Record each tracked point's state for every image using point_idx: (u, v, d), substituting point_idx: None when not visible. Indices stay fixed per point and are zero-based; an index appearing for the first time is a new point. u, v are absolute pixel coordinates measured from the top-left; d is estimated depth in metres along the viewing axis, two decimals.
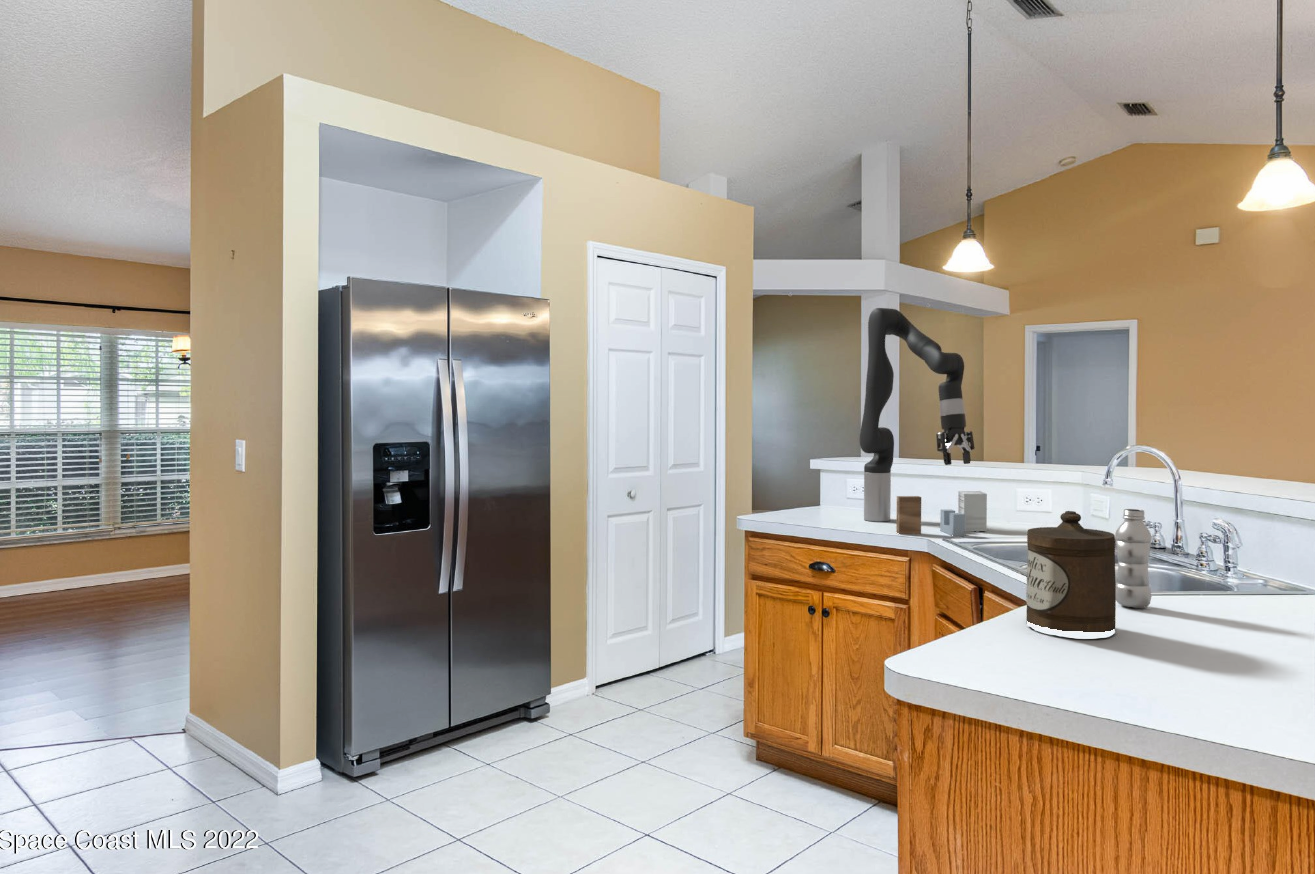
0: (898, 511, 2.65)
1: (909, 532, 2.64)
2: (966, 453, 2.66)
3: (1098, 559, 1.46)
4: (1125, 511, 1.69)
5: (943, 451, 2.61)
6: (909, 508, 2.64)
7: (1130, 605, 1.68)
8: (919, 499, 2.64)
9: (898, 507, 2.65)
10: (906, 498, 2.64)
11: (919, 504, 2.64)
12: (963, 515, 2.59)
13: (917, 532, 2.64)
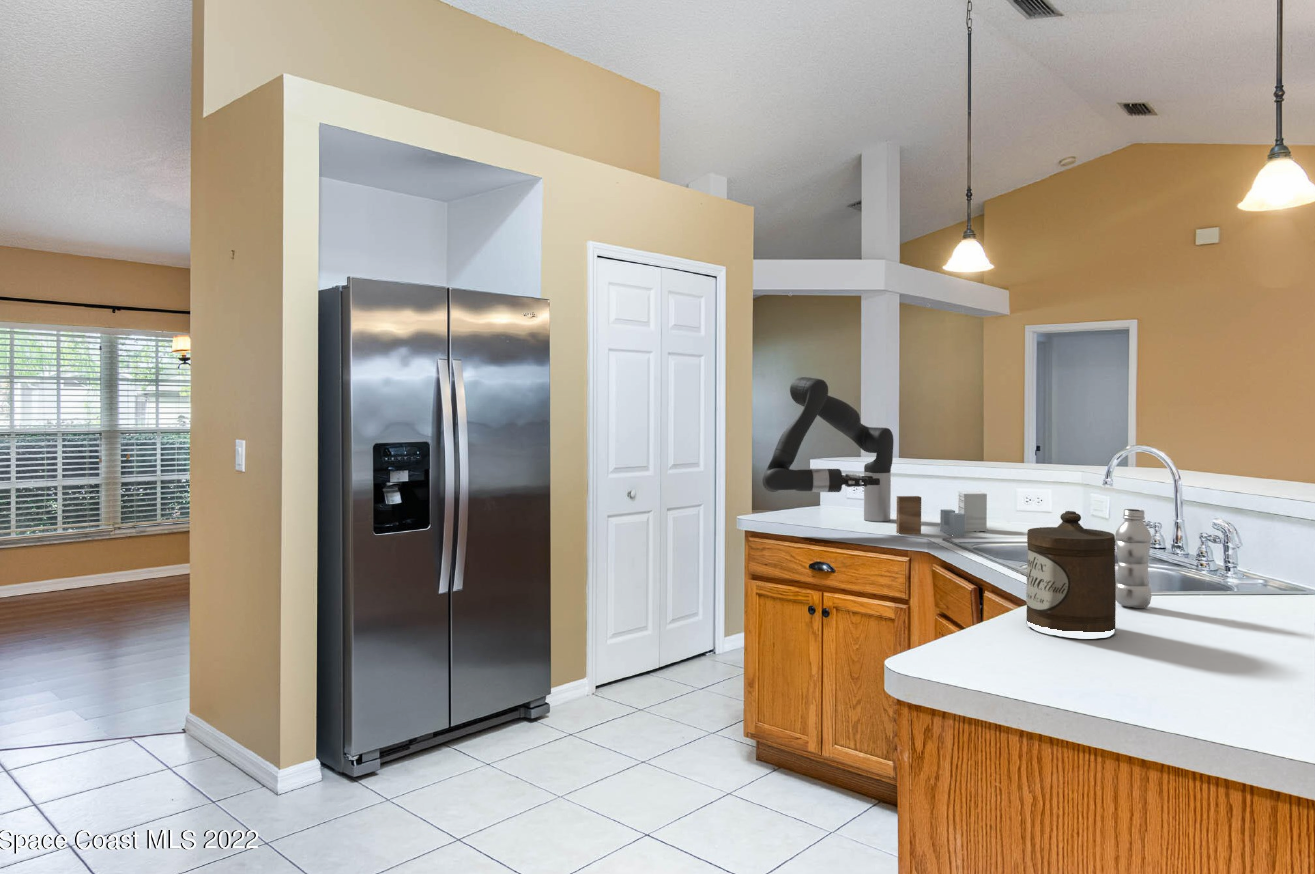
0: (898, 511, 2.65)
1: (909, 532, 2.64)
2: None
3: (1098, 559, 1.46)
4: (1125, 511, 1.69)
5: None
6: (909, 508, 2.64)
7: (1130, 605, 1.68)
8: (919, 499, 2.64)
9: (898, 507, 2.65)
10: (906, 498, 2.64)
11: (919, 504, 2.64)
12: (963, 515, 2.59)
13: (917, 532, 2.64)
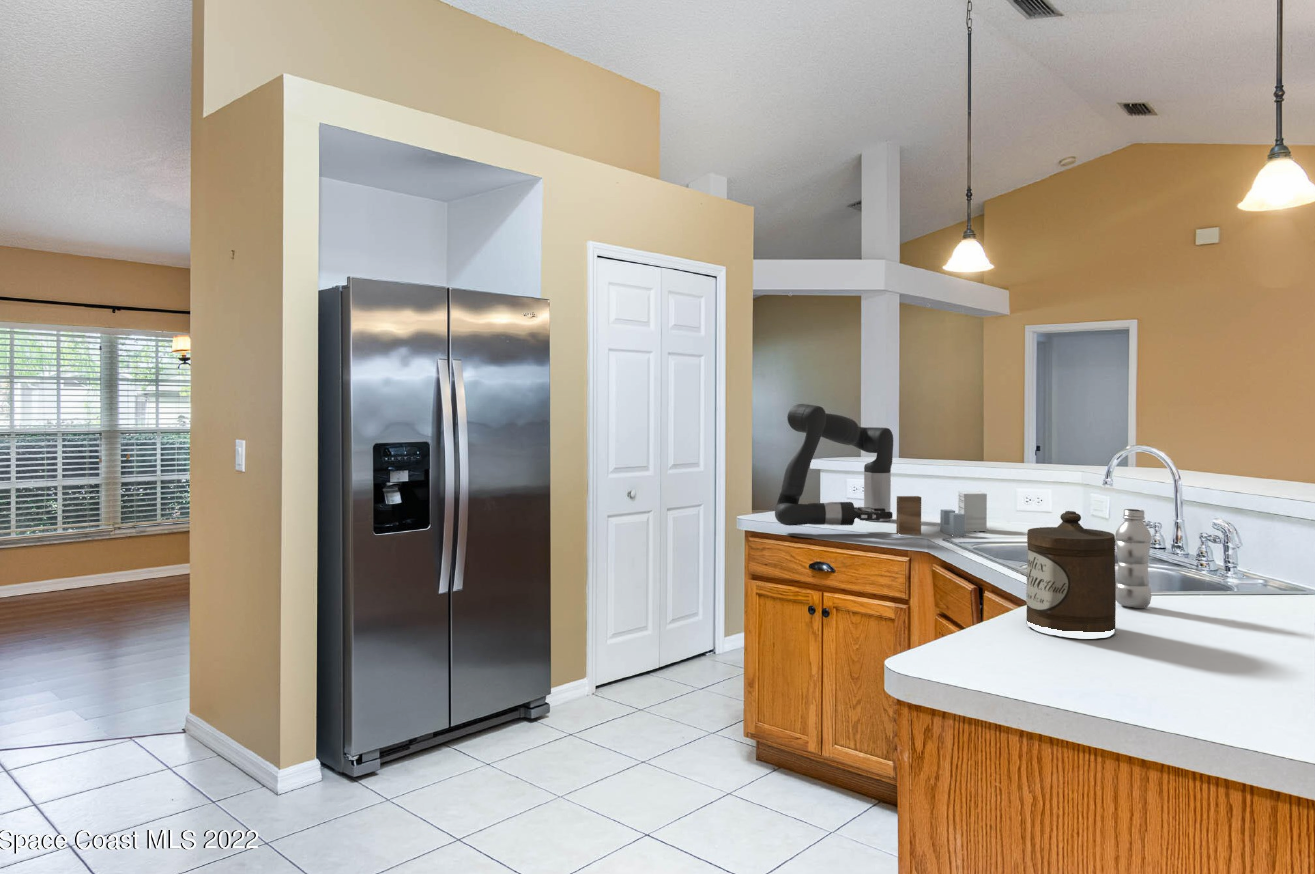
0: (898, 511, 2.65)
1: (909, 532, 2.64)
2: None
3: (1098, 559, 1.46)
4: (1125, 511, 1.69)
5: None
6: (909, 508, 2.64)
7: (1130, 605, 1.68)
8: (919, 499, 2.64)
9: (898, 507, 2.65)
10: (906, 498, 2.64)
11: (919, 504, 2.64)
12: (963, 515, 2.59)
13: (917, 532, 2.64)
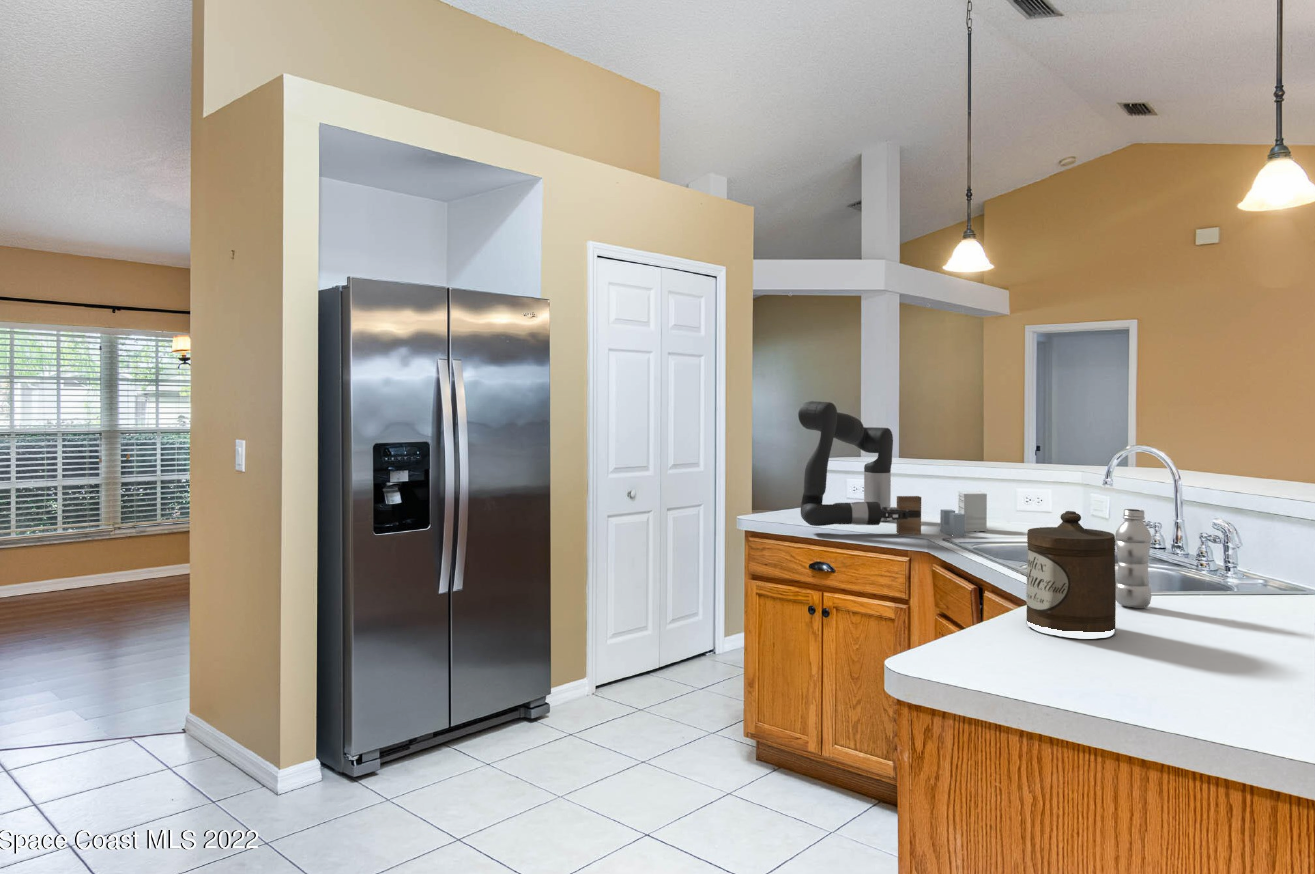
0: None
1: (909, 532, 2.64)
2: None
3: (1098, 559, 1.46)
4: (1125, 511, 1.69)
5: None
6: (909, 508, 2.64)
7: (1130, 605, 1.68)
8: (919, 499, 2.64)
9: (898, 507, 2.65)
10: (906, 498, 2.64)
11: (919, 504, 2.64)
12: (963, 515, 2.59)
13: (917, 532, 2.64)
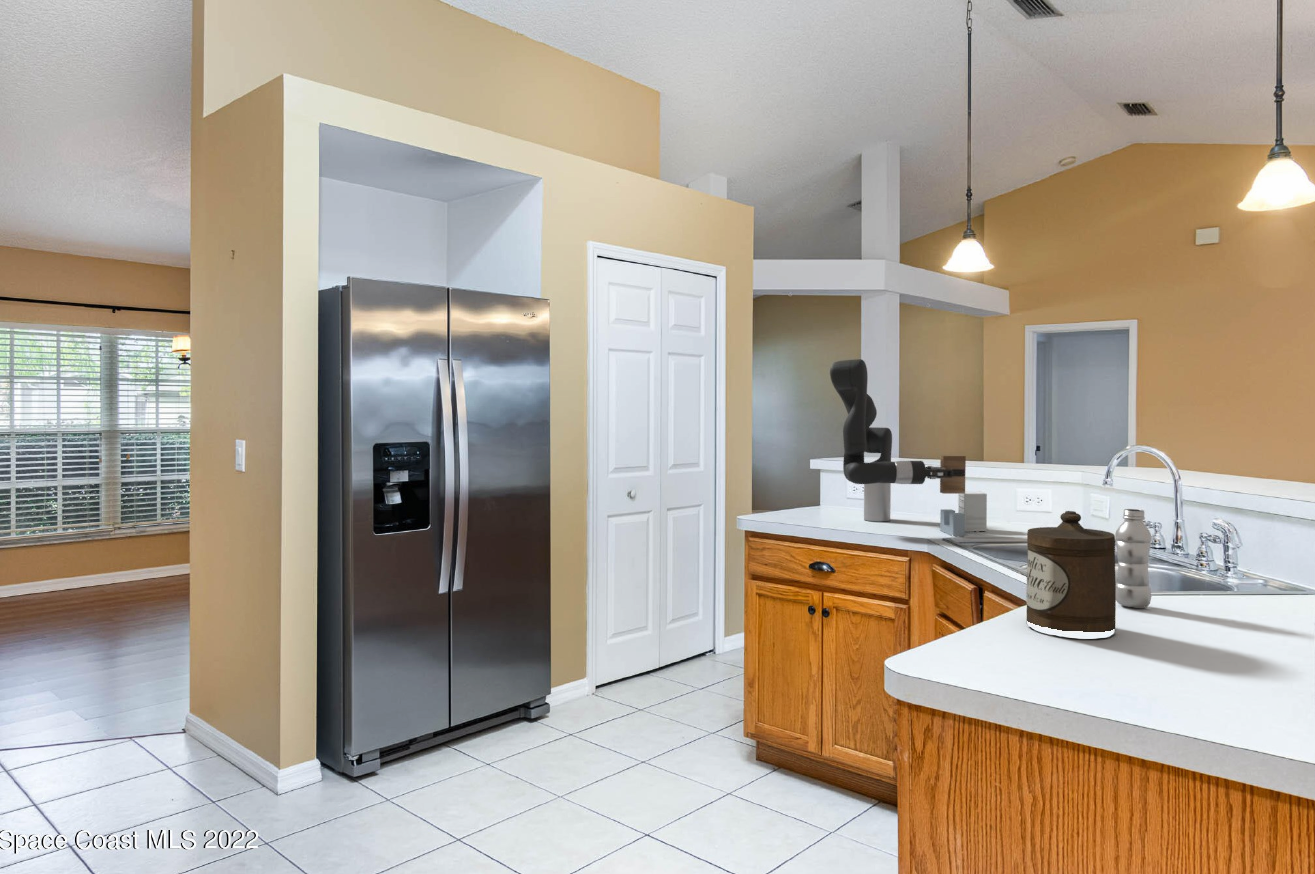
0: None
1: (953, 491, 2.64)
2: None
3: (1098, 559, 1.46)
4: (1125, 511, 1.69)
5: None
6: (953, 467, 2.63)
7: (1130, 605, 1.68)
8: (963, 458, 2.63)
9: (942, 466, 2.64)
10: (950, 457, 2.63)
11: (963, 463, 2.63)
12: (963, 515, 2.59)
13: (961, 491, 2.64)
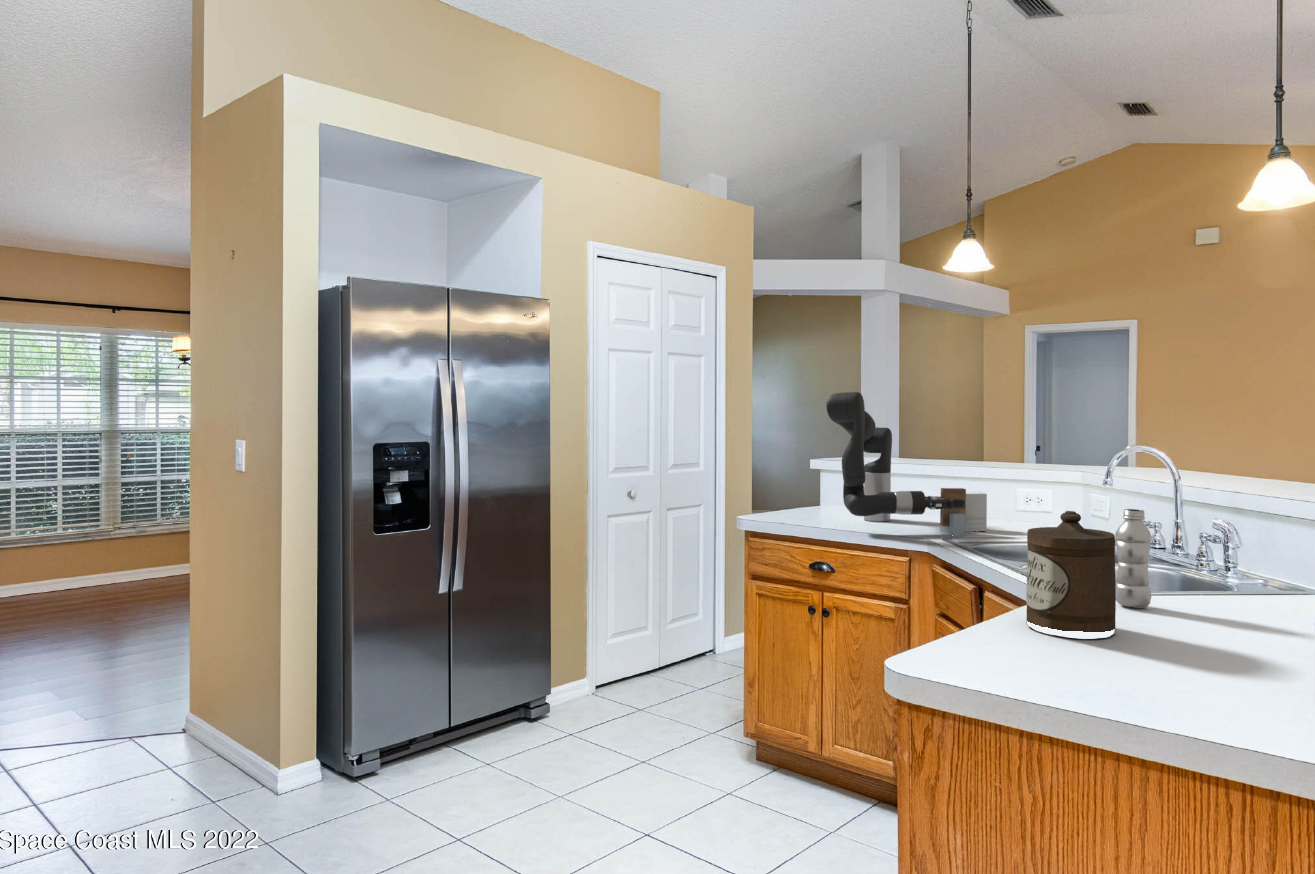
0: None
1: None
2: None
3: (1098, 559, 1.46)
4: (1125, 511, 1.69)
5: None
6: None
7: (1130, 605, 1.68)
8: (964, 491, 2.64)
9: None
10: (950, 490, 2.64)
11: (963, 496, 2.64)
12: (963, 515, 2.59)
13: None
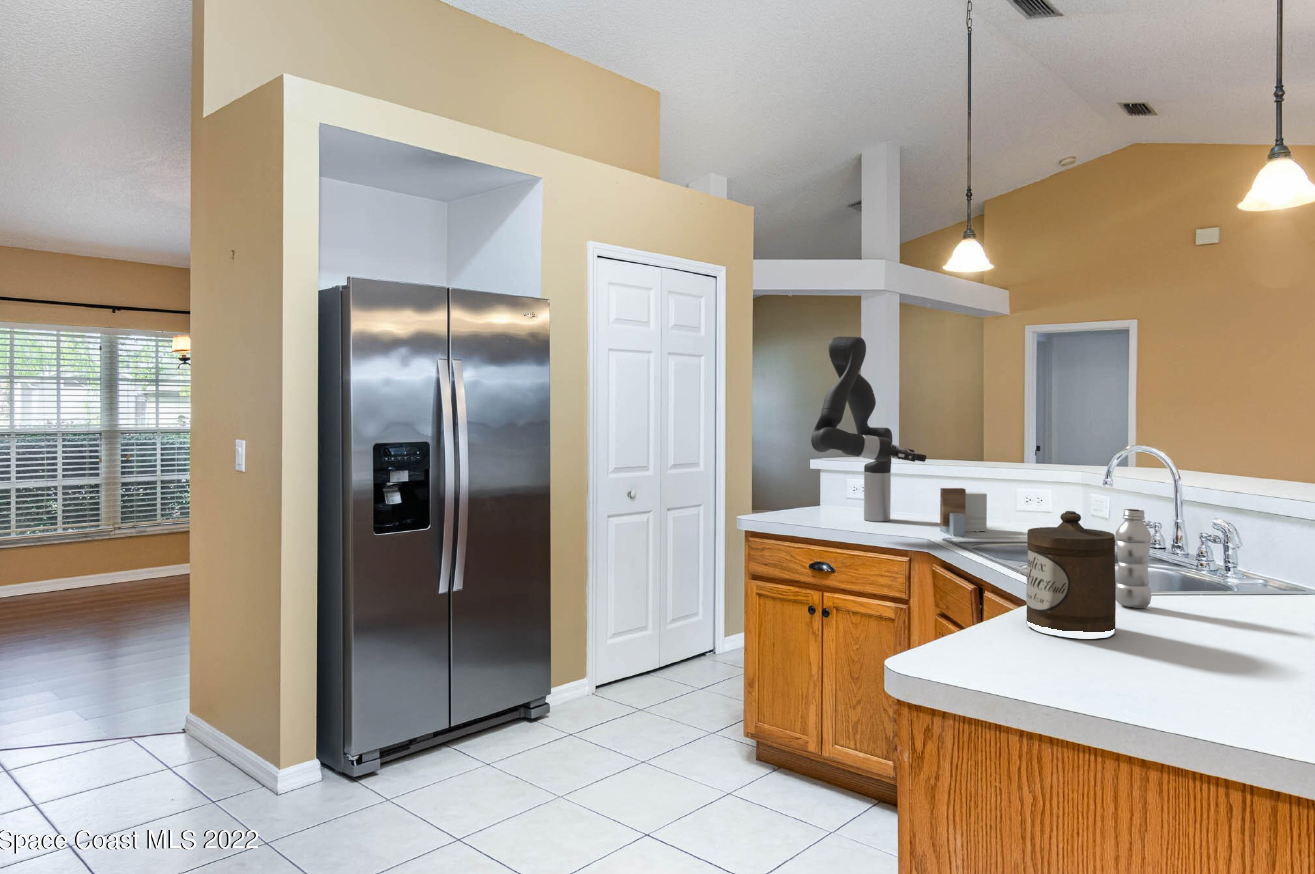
0: (942, 503, 2.65)
1: None
2: None
3: (1098, 559, 1.46)
4: (1125, 511, 1.69)
5: None
6: (953, 500, 2.64)
7: (1130, 605, 1.68)
8: (963, 491, 2.64)
9: (942, 499, 2.65)
10: (950, 490, 2.64)
11: (963, 496, 2.64)
12: (963, 515, 2.59)
13: None
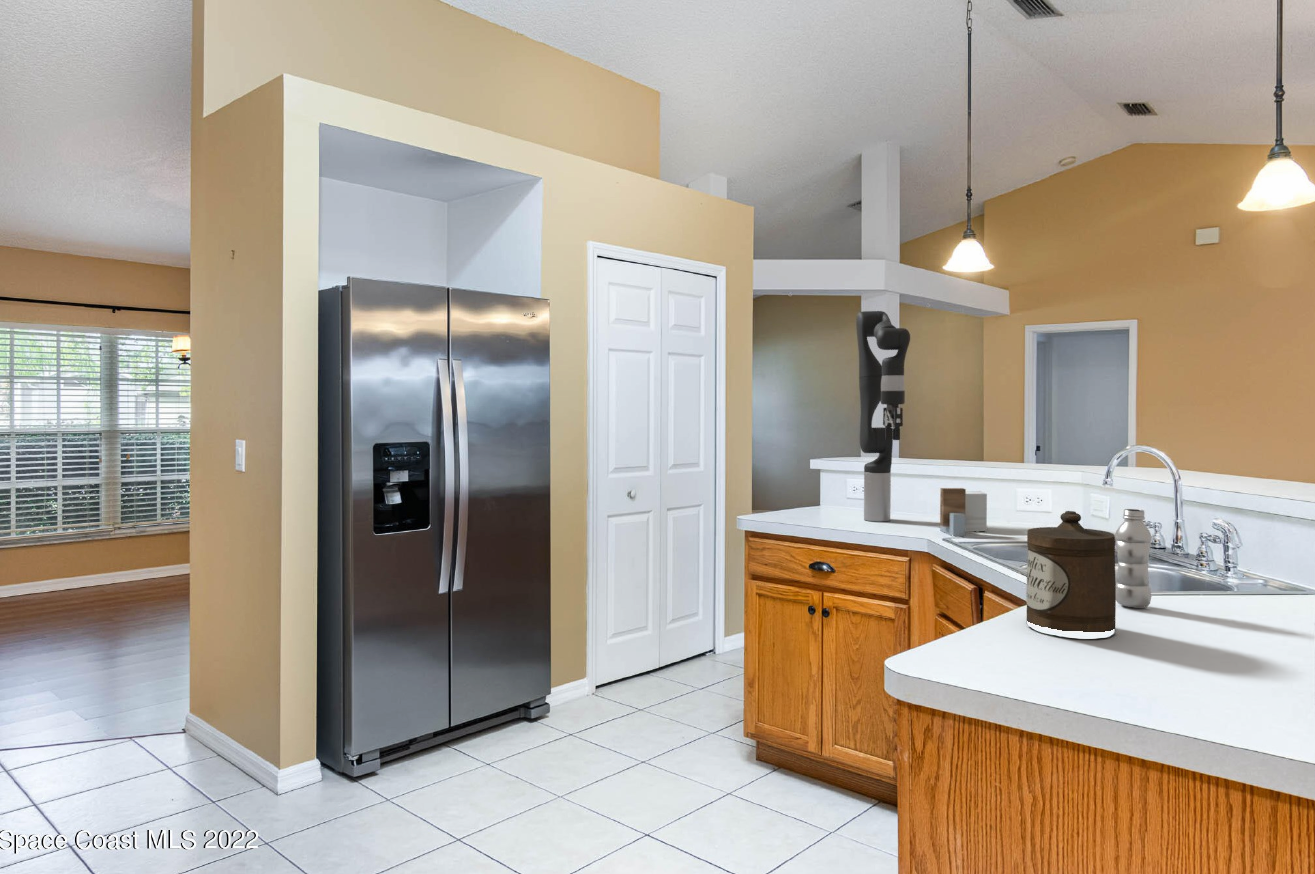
0: (942, 503, 2.65)
1: None
2: None
3: (1098, 559, 1.46)
4: (1125, 511, 1.69)
5: None
6: (953, 500, 2.64)
7: (1130, 605, 1.68)
8: (963, 491, 2.64)
9: (942, 499, 2.65)
10: (950, 490, 2.64)
11: (963, 496, 2.64)
12: (963, 515, 2.59)
13: None
